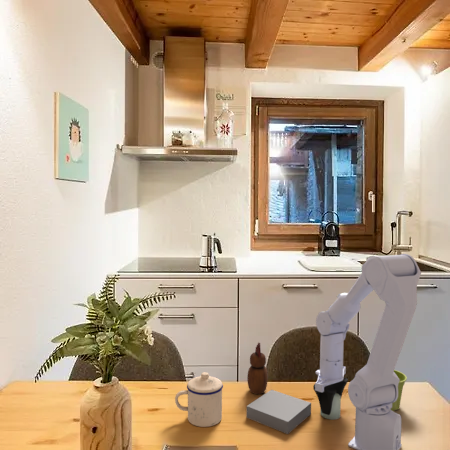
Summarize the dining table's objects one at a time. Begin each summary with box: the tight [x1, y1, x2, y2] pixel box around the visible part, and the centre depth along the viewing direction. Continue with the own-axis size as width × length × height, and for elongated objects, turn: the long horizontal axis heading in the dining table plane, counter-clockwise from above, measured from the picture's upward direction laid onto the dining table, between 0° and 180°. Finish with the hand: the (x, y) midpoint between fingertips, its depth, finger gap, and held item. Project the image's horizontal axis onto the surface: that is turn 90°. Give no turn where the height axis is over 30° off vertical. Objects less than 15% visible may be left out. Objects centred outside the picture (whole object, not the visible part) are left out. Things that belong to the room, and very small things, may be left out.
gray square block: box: [245, 389, 312, 435], centre depth 106 cm, size 12×12×3 cm
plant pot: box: [391, 369, 408, 412], centre depth 112 cm, size 9×9×9 cm
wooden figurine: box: [247, 342, 269, 395], centre depth 119 cm, size 7×6×15 cm
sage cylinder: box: [319, 393, 342, 421], centre depth 107 cm, size 5×5×5 cm
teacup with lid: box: [174, 371, 224, 428], centre depth 104 cm, size 12×9×12 cm
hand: (330, 409), depth 107 cm, fingers closed on sage cylinder, 5 cm apart
